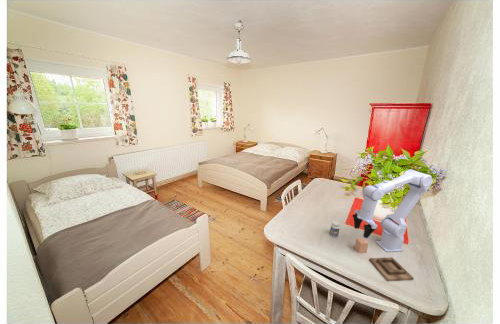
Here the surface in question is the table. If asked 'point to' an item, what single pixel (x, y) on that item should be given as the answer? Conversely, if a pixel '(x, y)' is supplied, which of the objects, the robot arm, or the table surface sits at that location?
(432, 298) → the table surface
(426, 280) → the table surface
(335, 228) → the pill bottle
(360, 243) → the terracotta block
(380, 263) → the display stand
